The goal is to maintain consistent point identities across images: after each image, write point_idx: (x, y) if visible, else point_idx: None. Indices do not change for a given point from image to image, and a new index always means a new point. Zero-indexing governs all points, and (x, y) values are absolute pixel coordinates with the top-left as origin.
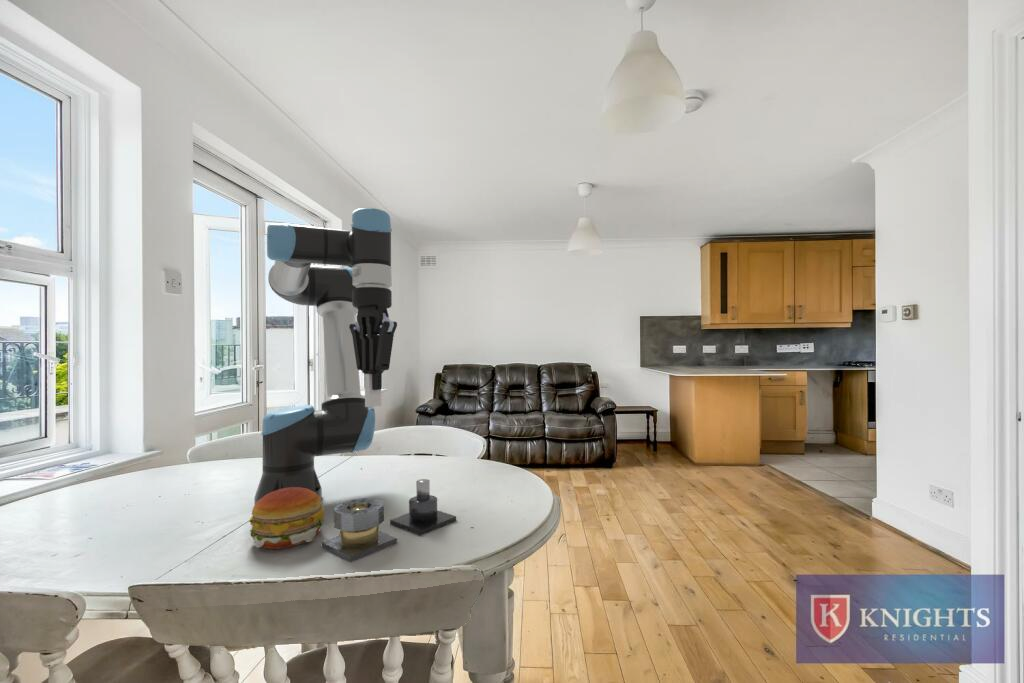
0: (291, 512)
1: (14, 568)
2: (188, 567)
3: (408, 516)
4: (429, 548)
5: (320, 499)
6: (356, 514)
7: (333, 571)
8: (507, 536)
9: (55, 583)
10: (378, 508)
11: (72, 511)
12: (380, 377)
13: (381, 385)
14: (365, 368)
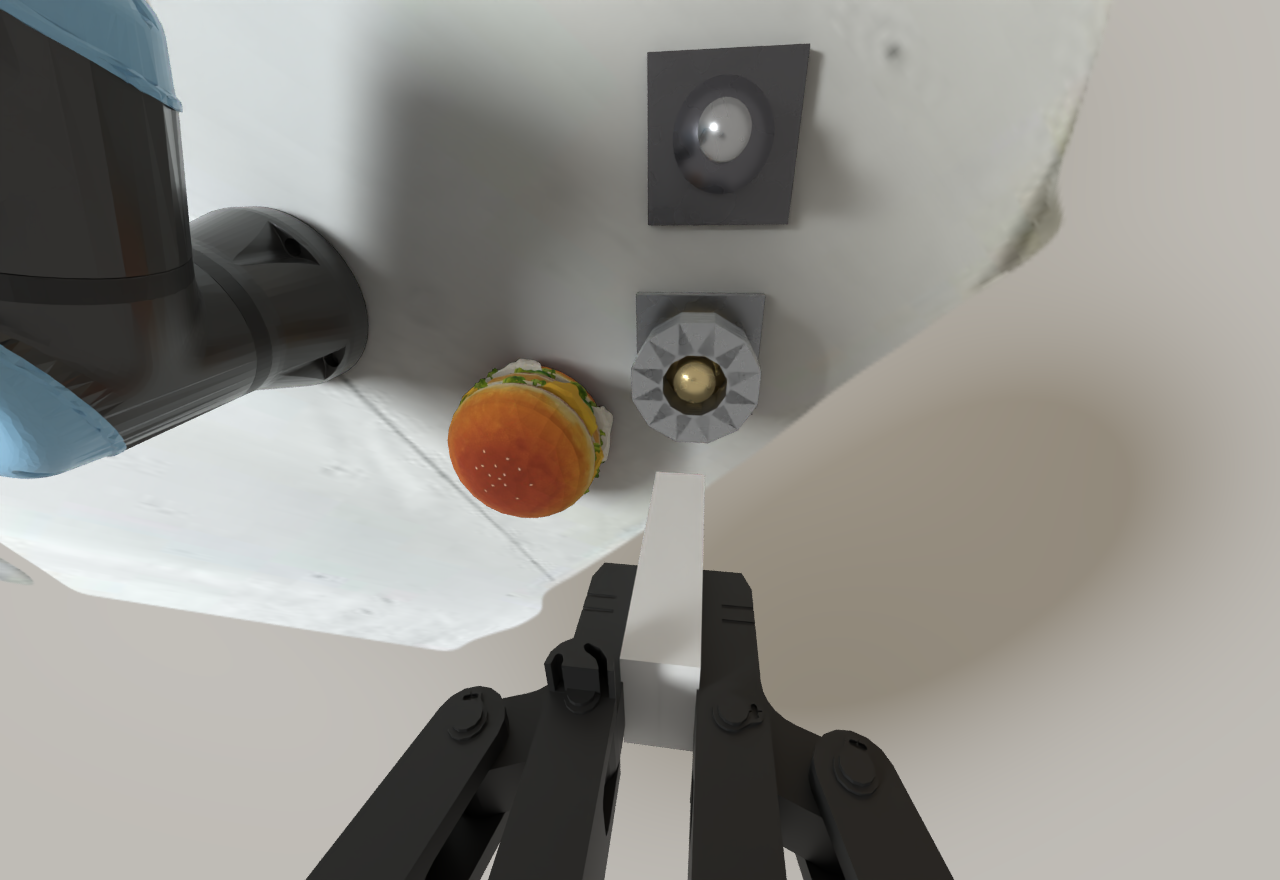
0: (588, 482)
1: (389, 639)
2: (544, 549)
3: (671, 167)
4: (861, 263)
5: (545, 400)
6: (741, 424)
7: (753, 446)
8: (1058, 27)
9: (475, 631)
10: (755, 368)
11: (152, 557)
12: (758, 671)
13: (751, 600)
14: (616, 796)
